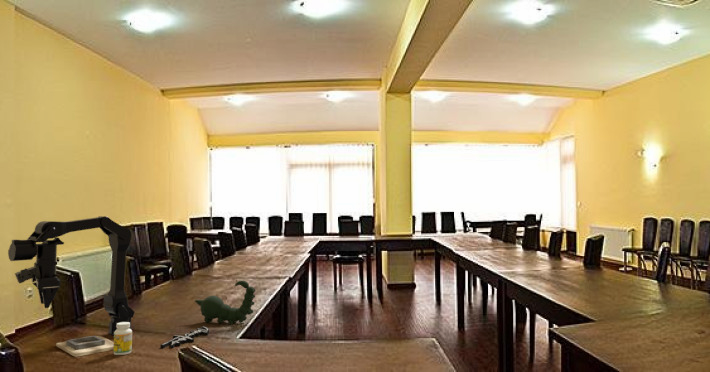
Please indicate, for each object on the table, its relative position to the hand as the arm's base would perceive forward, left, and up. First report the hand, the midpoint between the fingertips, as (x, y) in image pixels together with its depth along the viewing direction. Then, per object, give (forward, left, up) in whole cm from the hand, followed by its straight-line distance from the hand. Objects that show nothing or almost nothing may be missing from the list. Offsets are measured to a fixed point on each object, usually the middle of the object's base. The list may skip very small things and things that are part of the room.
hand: (44, 305), depth 162 cm
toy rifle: (-40, +21, -15) cm, 48 cm away
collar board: (-11, +8, -14) cm, 20 cm away
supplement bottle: (-16, +23, -15) cm, 32 cm away
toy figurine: (-63, +9, -15) cm, 65 cm away
